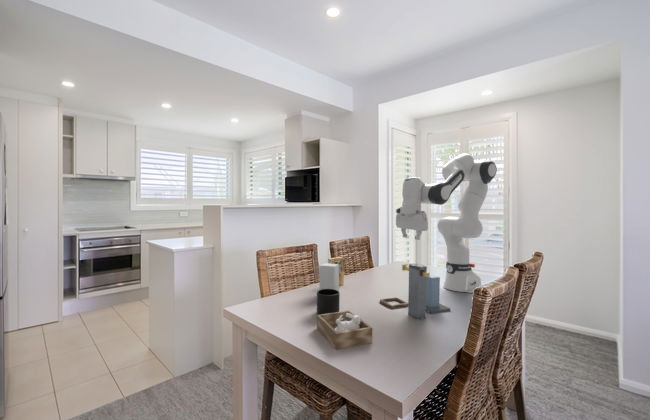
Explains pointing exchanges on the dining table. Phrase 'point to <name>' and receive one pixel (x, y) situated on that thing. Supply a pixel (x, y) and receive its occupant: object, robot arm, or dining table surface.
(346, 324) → the rabbit figurine
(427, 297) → the block
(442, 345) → the dining table surface
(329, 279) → the skincare box
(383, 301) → the socket frame
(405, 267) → the bolt
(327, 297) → the mug
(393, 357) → the dining table surface
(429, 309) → the mat
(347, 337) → the display box
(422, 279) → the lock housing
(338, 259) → the candy box
